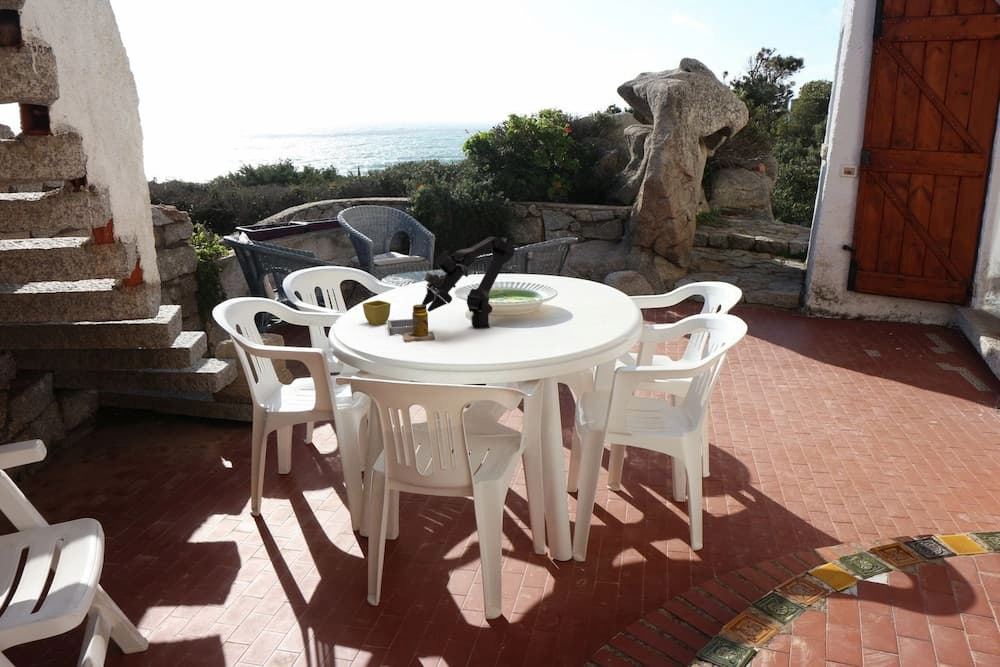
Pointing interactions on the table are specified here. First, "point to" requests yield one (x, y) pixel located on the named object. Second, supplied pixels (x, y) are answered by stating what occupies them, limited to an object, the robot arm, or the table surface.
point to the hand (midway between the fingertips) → (425, 308)
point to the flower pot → (377, 311)
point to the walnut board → (409, 339)
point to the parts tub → (400, 326)
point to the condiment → (419, 322)
